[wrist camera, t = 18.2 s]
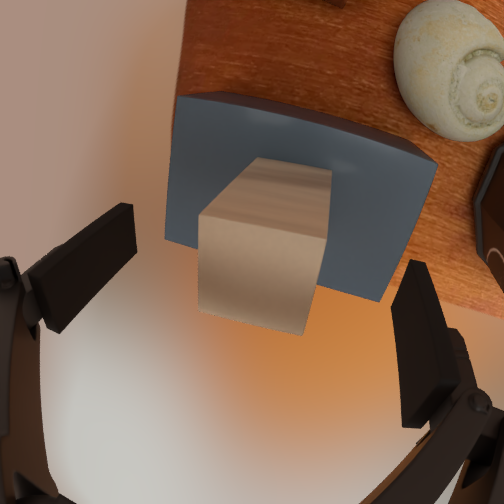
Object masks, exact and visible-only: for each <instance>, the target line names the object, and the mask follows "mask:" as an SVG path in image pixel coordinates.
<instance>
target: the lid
mask: <svg viewBox="0 0 504 504" xmlns="http://www.w3.org/2000/svg"><path fill="white" fill-rule="evenodd" d="M257 157H259V158H266V159H272V160H278V161H284V162H290V163H296V164H301V165H307V166H312V167H317V168H322V169H328V170H332V181H331V196H330V210H329V223H328V234H327V242H326V247H325V251H324V255H323V259H322V264H321V268H320V272H319V276H318V280H317V285H320V286H324V287H327V288H331V289H334V290H338V291H341V292H344V293H348V294H352V295H355V296H359V297H362V298H365V299H369V300H372V301H376V302H380V300H381V298H382V296H383V294H384V292H385V290H386V288H387V286H388V284H389V282H390V280H391V278H392V276H393V274H394V272H395V270H396V267H397V265H398V263H399V261H400V259H401V257H402V254H403V252H404V250H405V248H406V246H407V243H408V241H409V239H410V236H411V234H412V232H413V229H414V227H415V225H416V222H417V220H418V217H419V215H420V212H421V210H422V207H423V205H424V202H425V200H426V197H427V195H428V192H429V189H430V187H431V184H432V181H433V178H434V176H435V173H436V170H437V167H438V164H437V163H436V162H435V161H433V160H430V159H428V158H425V157H423V156H420V155H418V154H415V153H412V152H410V151H407V150H404V149H402V148H399V147H396V146H393V145H390V144H388V143H385V142H382V141H379V140H376V139H373V138H370V137H367V136H364V135H360V134H357V133H354V132H351V131H347V130H344V129H341V128H337V127H334V126H330V125H327V124H323V123H319V122H316V121H312V120H308V119H304V118H300V117H296V116H292V115H288V114H284V113H279V112H275V111H270V110H266V109H261V108H256V107H251V106H246V105H241V104H236V103H230V102H224V101H219V100H212V99H206V98H199V97H192V96H185V95H180V96H177V104H176V111H175V120H174V128H173V137H172V146H171V156H170V167H169V178H168V191H167V205H166V222H165V239H166V240H169V241H172V242H175V243H179V244H182V245H185V246H188V247H192V248H195V249H198V220H199V214H200V213H201V212H202V211H203V210H204V209H205V208H206V207H207V206H208V205H209V204H210V203H211V202H212V201H213V200H214V199H215V198H216V197H217V196H218V195H219V194H220V193H221V192H222V191H223V190H224V189H225V188H226V187H227V186H228V185H229V184H230V183H231V182H232V181H233V180H234V179H235V178H236V177H237V176H238V175H239V174H240V173H241V172H242V171H243V170H244V169H245V168H246V167H248V166H249V165H250V164H251V163H252V162H253V161H254V160H255V159H256V158H257Z"/></svg>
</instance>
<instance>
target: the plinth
mask: <svg viewBox="0 0 504 504" xmlns="http://www.w3.org/2000/svg"><path fill="white" fill-rule="evenodd" d="M324 1H326V2H328V3H330V4H333V5H335V6H337V7H339V8H341V9H343V7H344V6H345V4H346V2H347V0H324Z"/></svg>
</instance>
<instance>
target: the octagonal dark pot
mask: <svg viewBox="0 0 504 504" xmlns="http://www.w3.org/2000/svg"><path fill="white" fill-rule="evenodd" d="M473 209H474V221H475V237H476V251H477V254H478V255H479V257H480V258H481V259H482V260H483V261H484V262H485V263H486V265H487V266H488V267H489V268H490V271H491V273H492V274H493V276H494V278H495V279H496V281H497V283H498V284H499V286H500V288H501V289H502V291H503V293H504V142H503V143H501V144H500V145H498V146H496V147H495V148H494V149H493V151H492V153H491V156H490V158H489V161H488V163H487V166H486V168H485V171H484V173H483V175H482V178H481V180H480V182H479V184H478V187H477V189H476V191H475V193H474V196H473Z"/></svg>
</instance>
